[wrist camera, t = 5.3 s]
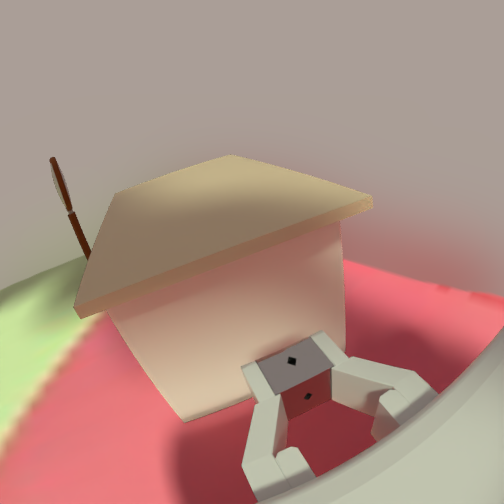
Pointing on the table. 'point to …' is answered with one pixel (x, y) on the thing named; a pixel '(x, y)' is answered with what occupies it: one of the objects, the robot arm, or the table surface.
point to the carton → (235, 320)
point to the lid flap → (203, 225)
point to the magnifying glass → (68, 204)
